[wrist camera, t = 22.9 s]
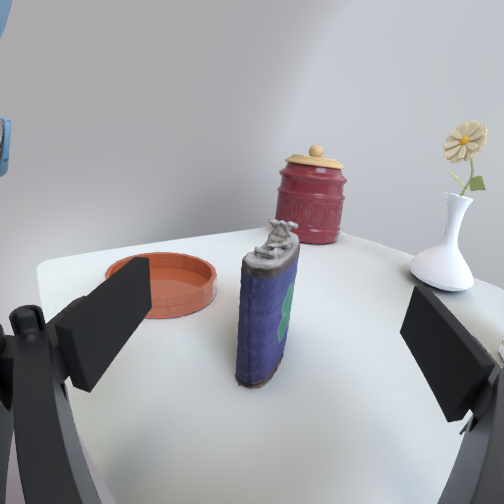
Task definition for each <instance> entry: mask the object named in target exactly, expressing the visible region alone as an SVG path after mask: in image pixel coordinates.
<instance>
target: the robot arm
mask: <svg viewBox="0 0 504 504" xmlns="http://www.w3.org/2000/svg"><path fill="white" fill-rule="evenodd" d="M11 4H12V0H0V38H1V36H2V33H3V31H4V28H5V25H6V22H7V18H8V15H9V11H10V7H11ZM10 132H11V121H10V119H5V118H1V119H0V177H1V176H4V175H5V174H6V173H7V170H8V157H9V145H10ZM151 308H152V300H151V284H150V263H149V258H146V257H138V256H135V257H134V258H133V259H131V260H130V261H129V262H127V263H126V264H125V265H124V266H122V267H121V268H120V269H119V270H118V271H116V272H115V273H114V274H113V275H111V276H110V277H109V278H108V279H107V280H105V281H104V282H103V283H102V284H100V285H99V286H98V287H97V288H96V289H94V290H93V291H92V292H91V293H90V294H89V295H87V296H82V297H80V298H78V299H76V300H74V301H72V302H71V303H70V304H69V305H68V306H67V307H66V308H64V309H63V310H62V311H61V313H60V312H59V313H58V314H57V315H56V316H55V317H54V318H52V319H51V320H50V321H49V322H48V323H47V324H46V323H45V320H44V316H43V312H42V309H41V308H40V307H39V306H36V305H25V306H21V307H19V308H17V309H15V310H14V311H12V312H11V314H10V316H9V319H10V322H11V326H12V329H13V332H14V335H15V336H12V335H5V334H4V331H3V328H2V325H1V324H0V504H5V495H6V481H7V470H8V462H9V454H10V447H11V441H12V435H13V430H14V433H15V444H16V452H17V460H18V467H19V473H20V479H21V485H22V489H23V494H24V499H25V503H26V504H102V503H101V500H100V498H99V496H98V493H97V491H96V488H95V486H94V483H93V480H92V478H91V475H90V472H89V469H88V466H87V463H86V460H85V457H84V454H83V451H82V448H81V444H80V441H79V438H78V434H77V430H76V427H75V423H74V419H73V415H72V410H71V406H70V402H69V397H68V392H67V387H66V385H65V382H64V381H65V380H66V379H67V377H68V376H70V378H71V381H72V384H73V387H76V388H78V389H81V390H84V391H86V392H89V393H90V392H91V391H92V389H93V388H94V386H95V385H96V384H97V382H98V381H99V379H100V378H101V377H102V375H103V374H104V372H105V371H106V369H107V368H108V367H109V365H110V364H111V362H112V361H113V360H114V358H115V357H116V356H117V354H118V353H119V351H120V350H121V349H122V347H123V346H124V345H125V343H126V342H127V340H128V339H129V338H130V336H131V335H132V334H133V332H134V331H135V330H136V328H137V327H138V326H139V324H140V323H141V322H142V320H143V319H144V318H145V316H146V315H147V314H148V312H149V311H150V310H151ZM400 334H401V335H402V337H403V339H404V341H405V342H406V344H407V346H408V348H409V349H410V351H411V353H412V355H413V356H414V358H415V360H416V362H417V364H418V365H419V367H420V369H421V371H422V373H423V374H424V376H425V378H426V380H427V382H428V384H429V386H430V388H431V390H432V391H433V393H434V395H435V397H436V399H437V401H438V403H439V405H440V407H441V409H442V411H443V413H444V415H445V417H446V419H447V421H448V422H453V421H458V420H462V419H463V418H464V416H465V415H466V413H467V412H468V410H469V409H470V410H471V411H472V413H473V415H472V417H471V418H470V419H469V421H468V422H467V424H466V425H465V426H464V428H463V429H462V430H461V432H460V435H462V433H463V432H464V431H465V435H464V438H463V441H462V444H461V447H460V450H459V453H458V456H457V458H456V461H455V464H454V466H453V469H452V471H451V474H450V476H449V479H448V481H447V483H446V486H445V488H444V490H443V492H442V495H441V497H440V499H439V501H438V503H437V504H504V368H503V369H501V368H500V366H499V365H498V364H497V363H496V361H495V360H494V359H493V358H492V356H491V355H490V354H489V353H487V350H486V349H485V348H484V347H483V346H482V344H481V343H480V342H479V341H478V340H477V339H476V338H475V337H473V336H472V335H471V334H470V333H469V332H468V331H467V330H466V328H465V327H464V326H463V325H462V324H461V323H460V322H459V321H458V319H457V318H456V317H455V316H454V315H453V314H452V313H451V312H450V311H449V310H448V308H447V307H446V306H445V305H444V304H443V303H442V302H441V301H440V300H439V299H438V298H437V297H436V296H435V295H434V294H433V293H432V291H431V290H430V289H429V288H428V287H425V286H414V290H413V293H412V296H411V300H410V303H409V306H408V309H407V312H406V315H405V318H404V321H403V324H402V327H401V330H400Z"/></svg>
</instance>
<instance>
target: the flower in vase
mask: <svg viewBox="0 0 504 504" xmlns="http://www.w3.org/2000/svg"><path fill="white" fill-rule="evenodd" d="M479 124H480V123H479V121H475V120H473V121H472V122H471V123H470V124H468V122H467V121H465V122H464V123H463V125H462V126H458V127H457V128H456V130H451V132H450V135H451V136H450V137H448V138H447V139H446V140H447V142H446V143H445V144H444V145H443V147H444V150H446V151H445V152H444V153H443V156H444V157H446V159H447V160H450V162H451V163H455V162H456V163H460V162H461V161H462V160H463V159H464V160H465V161H467V160H469V159H470V161H471V177H470V179H469V181H468V183H467V185H466V186H465V187H464V184H463V183H462V182H461V181H460V180H459V179H458V178H457V177H456V176H455V175H454V173H453V171H452V170H451V175H452V176H453V177H454V178H455V179H456V180H457V181H458V182H459V183H460V184H461V185H462V187H464V190H463V191H462V193H461V195H456V194H452V193H449V192H444V195H445V197H446V200H447V205H448V216H447V224H446V229H445V233H444V236H443V238H442V240H441V241H440V242H439V243H438V244H437V245H435V246H433V247H432V248H430V249H427V250H426V251H423V252H421V253H420V254H418V255H416V256H415V257H413V258H412V259H411V261H410V262H409V267H410V270H411V272H412V273H413V274H414V275H415V276H416V277H417V278H419V279H420V280H421V281H423V282H425V283H427V284H429V285H431V286H433V287H436V288H439V289H443V290H447V291H465V290H468V289H469V288H470V287H471V286H472V285H473V277H472V274H471V271H470V269H469V267H468V266H467V264H466V262H465V261H464V259H463V258H462V256H461V254H460V252H459V249H458V246H457V238H458V233H459V228H460V224H461V221H462V218H463V215H464V213H465V211H466V209H467V207H468V206H469V205H470V204H471V202H472V201H473V199H470V198H467V197H464V196H463V194H464V192H465V190H466V189H467V187H468V185H469V184H470V190H471V191H475V190H485V187H484V183H483V179H482V177H481V176H477V177H474V178H473V171H474V168H473V160H472V157H474V156H476V154H477V152H479V151H481V149H482V146H483V145H485V144H486V143H487V139H486V138H487V136H488V135H487V134H486V133H487V131H488V129H487V128H485V125H480V126H479Z"/></svg>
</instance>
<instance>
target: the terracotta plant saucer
mask: <svg viewBox="0 0 504 504" xmlns="http://www.w3.org/2000/svg"><path fill="white" fill-rule="evenodd" d="M135 256H138V257H146V258H149V263H150V284H151V300H152V308H151V310H150V311H149V312H148V314H147V315H146V316H145V318H154V319H164V318H174V317H180V316H184V315H188V314H191V313H194V312H196V311H199V310H201V309H203V308H204V307H206V306H207V305H208V304H210V302H211V301H212V300H213V298H214V297H215V291H216V282H217V274H216V271H215V268H214V267H213V266H212V265H211V264H210V263H208V262H207V261H205V260H202V259H200V258H198V257H194V256H190V255H186V254H179V253H170V252H156V253H155V252H154V253H145V254H138V255H134V256H130V257H126V258H124V259H122V260H119V261H117V262H115V263H114V264H113V265H111V266H110V267H109V268H108V270H107V271H106V273H105V280H107V279H108V278H109V277H110V276H111V275H113V274H114V273H115V272H116V271H118V270H119V269H120V268H121V267H122V266H124V265H125V264H126V263H127V262H129V261H130V260H131V259H133V258H134V257H135Z"/></svg>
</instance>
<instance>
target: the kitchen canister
mask: <svg viewBox="0 0 504 504" xmlns="http://www.w3.org/2000/svg"><path fill="white" fill-rule="evenodd" d="M322 154H323V151H322V148H321V147H320V146H318V145H313V146H311V147H310V149H309V155H310V156H304V155H292V156H291V157H290V158H287V159H285V161H286V162H288V163H287V165H286V167H285V168H284V169H282V170H280V171H279V173H280V175H281V176H282V179H281V185H280V187H279V188H278V200H277V210H276V217H275V219H276V220H277V221H281V220H283V221H284V222H287V223H288V222H289V221H291V222H293V223H297V224H298V228H297V229H296V228H294V227H292V228H291V230H290V232H292V233H294V234H296V235H298V238H299V240H300V242H304V243H312V244H328V243H333V242H335V241H336V240H337V238H338V235H339V233H340V232H339V231H340V221H341V214H342V207H343V201H344V199H345V197H344V196H343V186H344V184H345V183H346V182H347V180H346V179H345V178H344V177H343V176H342V173H341V169H344V167H343V166H342V165H341V164H339V163H338V161H337V160H333V159H327V158H320V157H321V156H322Z"/></svg>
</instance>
